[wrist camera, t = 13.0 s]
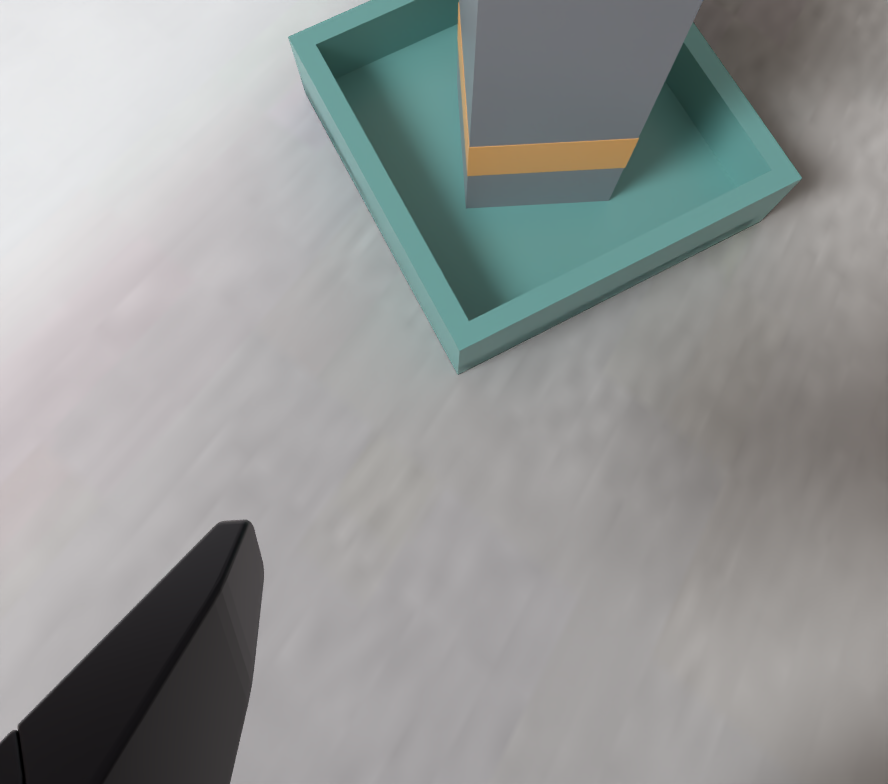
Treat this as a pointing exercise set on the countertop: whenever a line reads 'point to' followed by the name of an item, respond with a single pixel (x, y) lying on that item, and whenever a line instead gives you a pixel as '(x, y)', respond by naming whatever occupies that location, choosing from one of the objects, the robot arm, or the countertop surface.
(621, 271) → the tray
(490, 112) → the gray rectangular block
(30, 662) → the countertop surface
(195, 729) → the robot arm
